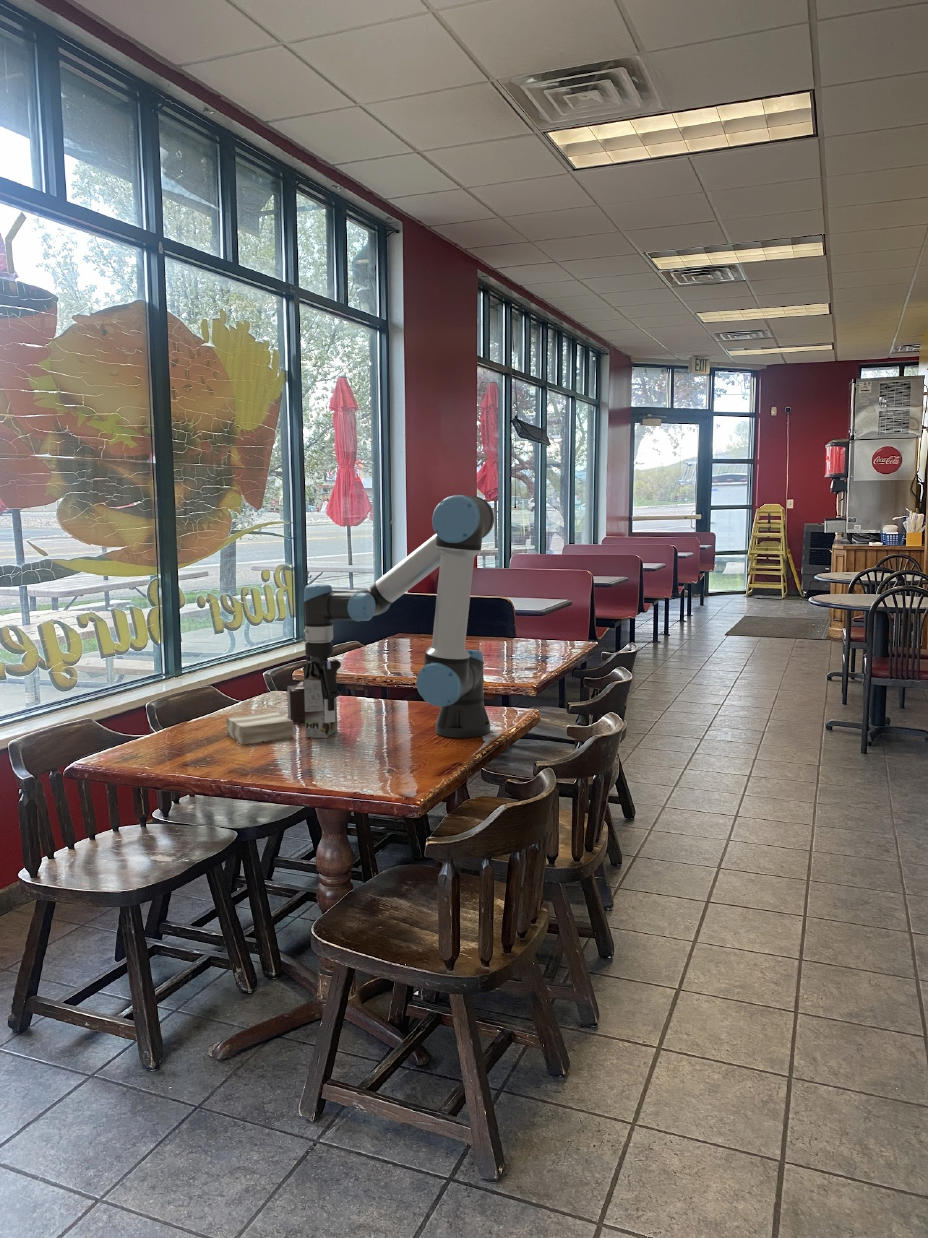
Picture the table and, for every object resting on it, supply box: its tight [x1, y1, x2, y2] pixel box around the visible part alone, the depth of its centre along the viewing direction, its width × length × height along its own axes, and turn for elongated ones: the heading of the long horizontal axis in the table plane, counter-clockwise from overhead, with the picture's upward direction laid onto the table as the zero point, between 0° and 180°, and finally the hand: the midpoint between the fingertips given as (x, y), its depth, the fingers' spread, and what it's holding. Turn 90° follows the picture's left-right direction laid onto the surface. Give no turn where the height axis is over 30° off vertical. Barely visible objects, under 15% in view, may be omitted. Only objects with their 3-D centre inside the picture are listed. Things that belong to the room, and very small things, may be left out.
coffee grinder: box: [287, 658, 342, 723], centre depth 270 cm, size 16×11×18 cm
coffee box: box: [303, 675, 338, 739], centre depth 249 cm, size 9×6×16 cm
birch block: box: [226, 711, 294, 745], centre depth 249 cm, size 14×14×5 cm
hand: (320, 717), depth 249 cm, fingers open, 13 cm apart
